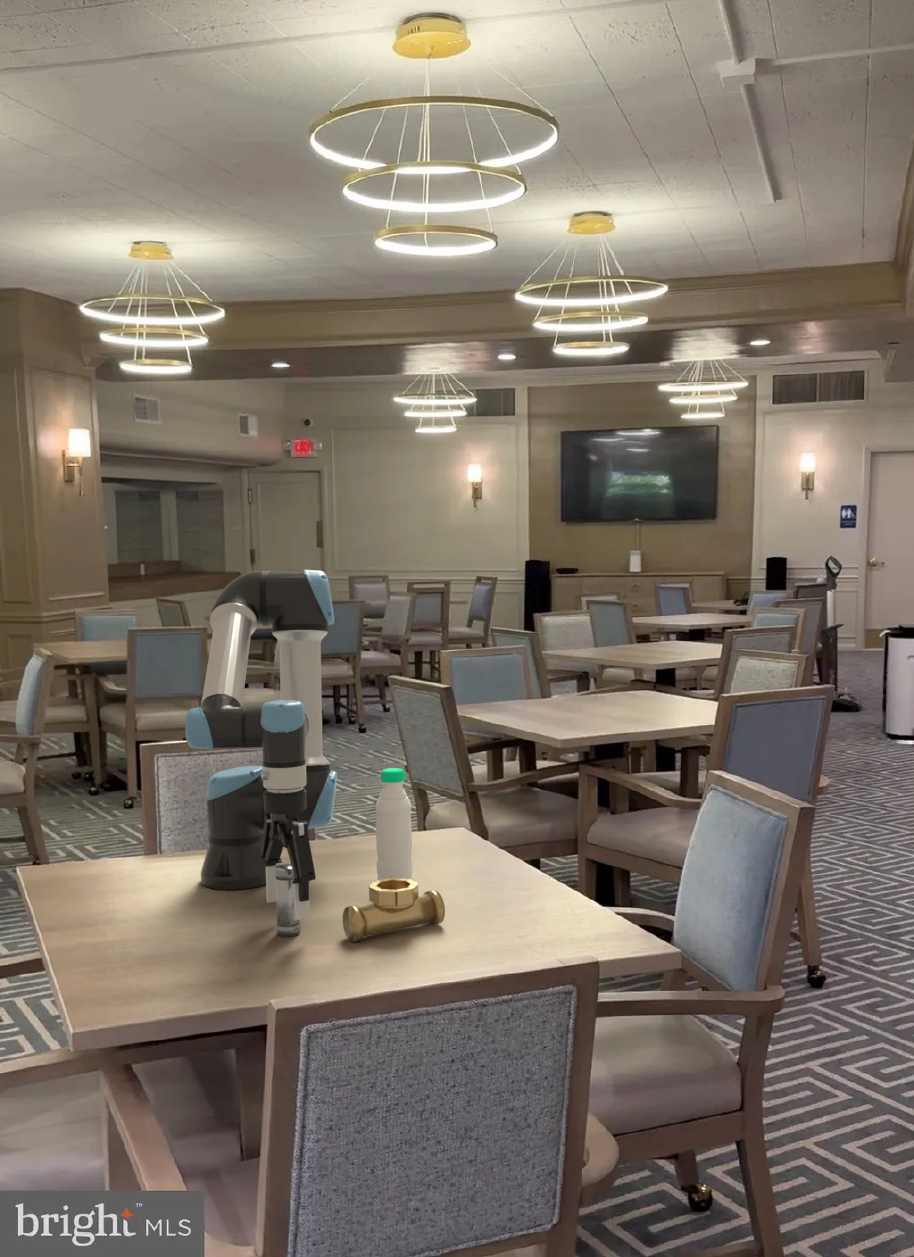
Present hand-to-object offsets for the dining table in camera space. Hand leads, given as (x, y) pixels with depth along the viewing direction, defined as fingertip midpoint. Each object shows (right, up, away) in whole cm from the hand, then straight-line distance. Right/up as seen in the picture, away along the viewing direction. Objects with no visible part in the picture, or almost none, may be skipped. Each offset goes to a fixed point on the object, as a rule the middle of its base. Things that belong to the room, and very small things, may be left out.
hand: (287, 909), depth 202 cm
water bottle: (+18, -3, +23) cm, 29 cm away
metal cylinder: (0, -4, 0) cm, 4 cm away
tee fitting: (+19, -4, 0) cm, 19 cm away
